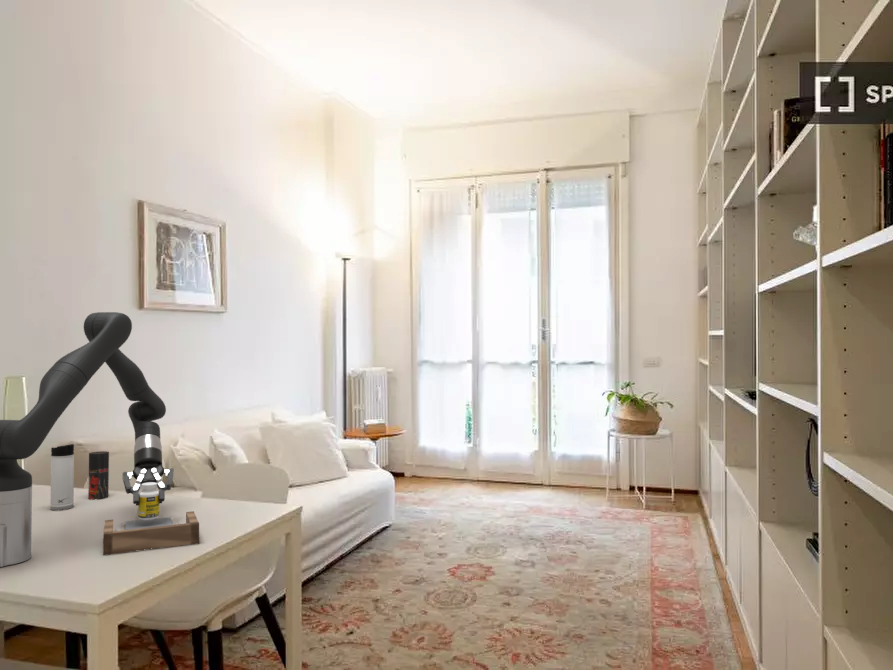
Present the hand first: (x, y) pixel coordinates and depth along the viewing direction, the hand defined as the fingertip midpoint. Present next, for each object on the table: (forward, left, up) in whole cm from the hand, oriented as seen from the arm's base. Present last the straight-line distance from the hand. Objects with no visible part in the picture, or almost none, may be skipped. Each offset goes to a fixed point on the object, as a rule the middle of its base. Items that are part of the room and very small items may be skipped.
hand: (149, 502), depth 187 cm
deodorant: (+27, +41, -7) cm, 50 cm away
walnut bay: (-12, -10, -7) cm, 17 cm away
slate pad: (+1, +1, -7) cm, 7 cm away
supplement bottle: (+1, +1, -5) cm, 5 cm away
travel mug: (+12, +41, -7) cm, 43 cm away
